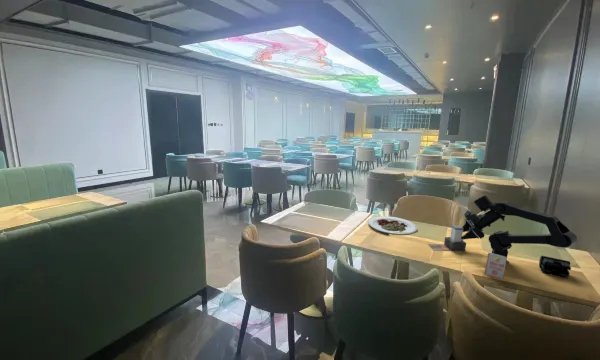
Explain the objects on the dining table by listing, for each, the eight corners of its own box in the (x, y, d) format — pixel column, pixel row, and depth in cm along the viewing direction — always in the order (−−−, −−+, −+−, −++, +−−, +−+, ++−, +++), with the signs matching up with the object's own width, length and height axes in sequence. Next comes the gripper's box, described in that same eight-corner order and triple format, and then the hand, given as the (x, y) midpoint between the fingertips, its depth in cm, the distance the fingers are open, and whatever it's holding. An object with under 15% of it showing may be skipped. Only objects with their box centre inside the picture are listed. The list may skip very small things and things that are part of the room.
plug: (460, 249, 150) (463, 228, 147) (452, 249, 150) (455, 228, 148) (456, 246, 154) (459, 225, 151) (448, 245, 154) (451, 225, 151)
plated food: (415, 240, 163) (415, 235, 162) (363, 230, 175) (363, 225, 175) (418, 223, 189) (418, 219, 188) (373, 216, 202) (373, 211, 201)
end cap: (565, 272, 132) (568, 259, 130) (569, 279, 126) (573, 265, 124) (537, 266, 137) (540, 253, 135) (540, 272, 131) (543, 259, 129)
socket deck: (465, 252, 148) (467, 243, 147) (433, 252, 148) (434, 242, 147) (457, 246, 156) (458, 236, 155) (426, 245, 156) (428, 236, 155)
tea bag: (485, 270, 131) (488, 251, 129) (502, 275, 127) (506, 255, 125) (484, 274, 128) (488, 254, 126) (502, 279, 124) (506, 258, 122)
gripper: (472, 201, 152) (447, 218, 159) (480, 212, 135) (451, 229, 142) (487, 217, 151) (461, 233, 158) (496, 230, 134) (467, 247, 141)
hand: (460, 235), depth 149 cm, fingers open, 9 cm apart
